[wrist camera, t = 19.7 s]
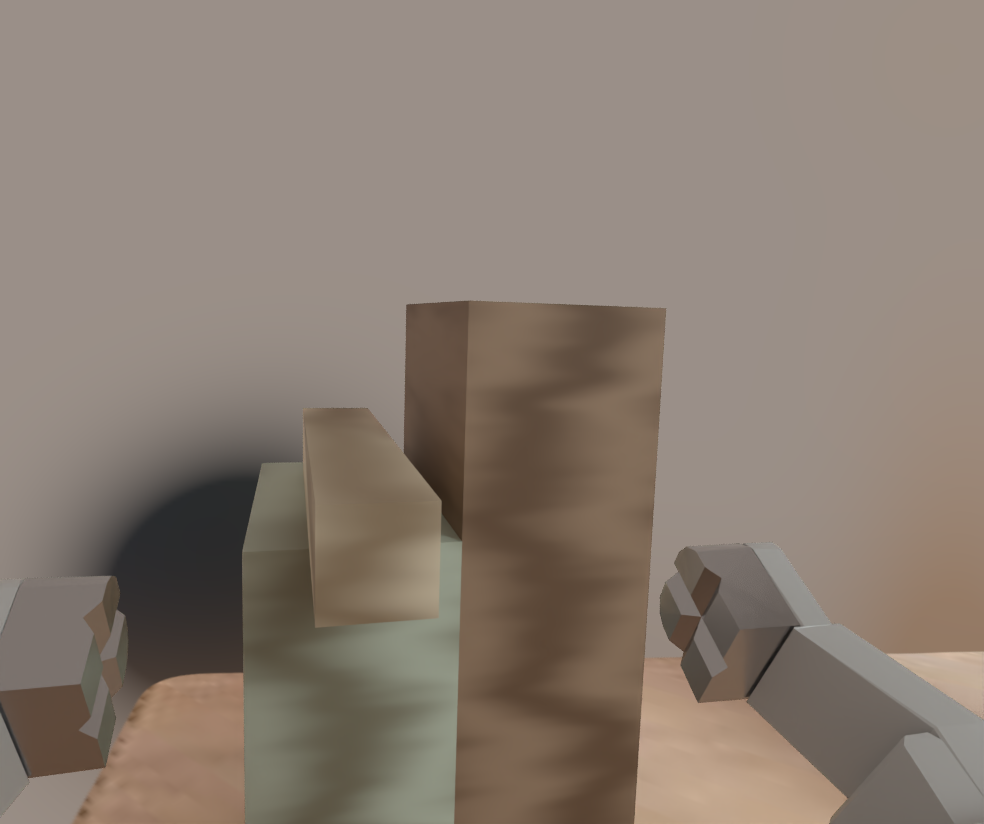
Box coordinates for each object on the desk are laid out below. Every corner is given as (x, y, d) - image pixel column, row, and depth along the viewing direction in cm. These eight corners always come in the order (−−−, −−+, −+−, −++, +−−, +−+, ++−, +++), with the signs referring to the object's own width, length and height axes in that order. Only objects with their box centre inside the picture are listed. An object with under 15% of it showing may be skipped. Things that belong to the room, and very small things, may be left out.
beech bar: (367, 469, 36) (367, 408, 35) (438, 618, 18) (441, 500, 18) (302, 471, 35) (303, 408, 34) (314, 627, 18) (315, 505, 17)
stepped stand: (519, 767, 42) (538, 309, 39) (624, 979, 29) (666, 308, 25) (264, 800, 39) (261, 299, 35) (247, 1061, 25) (239, 291, 22)
